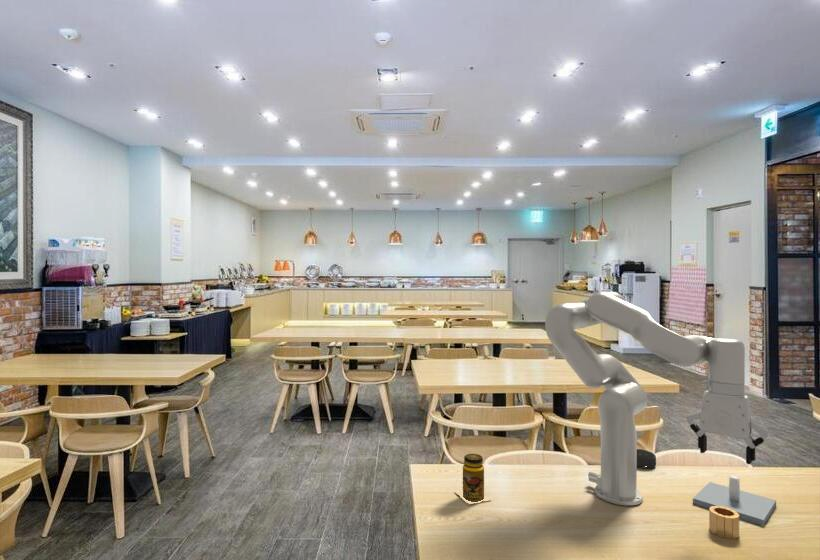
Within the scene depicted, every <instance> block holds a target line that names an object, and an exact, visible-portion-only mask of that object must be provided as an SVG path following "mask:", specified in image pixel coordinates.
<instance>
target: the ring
mask: <svg viewBox="0 0 820 560" xmlns="http://www.w3.org/2000/svg"><path fill="white" fill-rule="evenodd" d="M708 513H709V514H708V523H709V524H708V528H709V530H710V532H711V533H712V534H715V535H716V536H718V537H721V538H724V539H730V540H734V539H735V540H737V539H739V537H740V518H739V514H738V513H737V512H736V511H734V510H732V509H729V508H726V507H721V506H711V507H710V508H709V511H708Z"/></svg>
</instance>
